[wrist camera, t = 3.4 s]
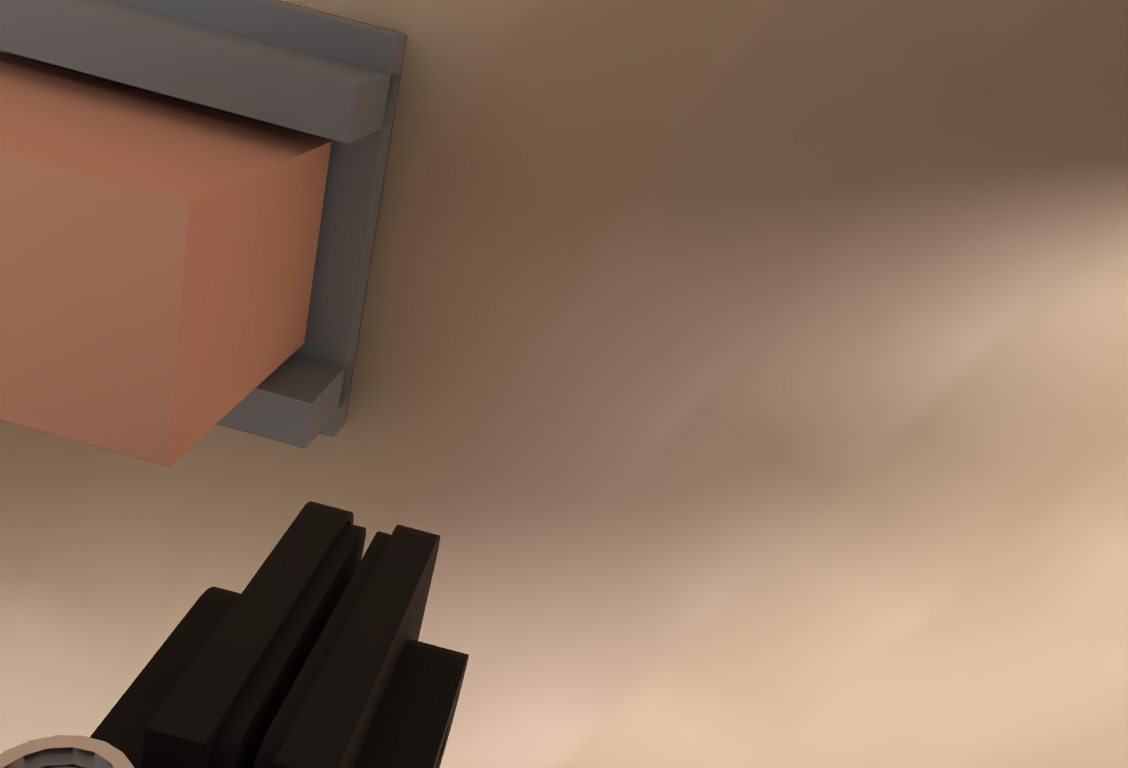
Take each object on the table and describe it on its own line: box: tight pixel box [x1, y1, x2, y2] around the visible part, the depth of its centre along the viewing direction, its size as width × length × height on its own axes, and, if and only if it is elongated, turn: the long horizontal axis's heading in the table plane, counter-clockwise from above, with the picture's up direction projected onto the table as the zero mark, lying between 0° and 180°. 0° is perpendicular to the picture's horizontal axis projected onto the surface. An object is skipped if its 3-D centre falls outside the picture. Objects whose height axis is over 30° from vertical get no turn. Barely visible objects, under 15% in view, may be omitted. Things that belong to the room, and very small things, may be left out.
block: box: [0, 52, 331, 467], centre depth 19 cm, size 8×5×6 cm, turn 76°
